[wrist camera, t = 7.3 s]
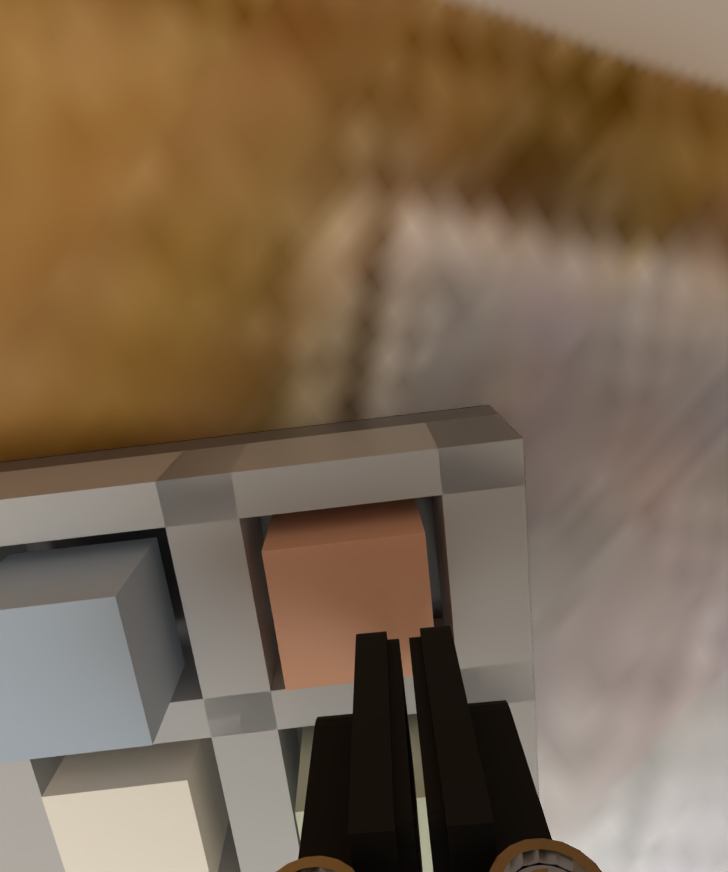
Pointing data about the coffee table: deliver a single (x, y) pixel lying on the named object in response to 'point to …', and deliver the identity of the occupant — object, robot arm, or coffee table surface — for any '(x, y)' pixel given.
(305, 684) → the key terracotta
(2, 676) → the key slate
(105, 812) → the key ivory
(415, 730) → the key sage
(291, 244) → the coffee table surface
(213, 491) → the keypad
